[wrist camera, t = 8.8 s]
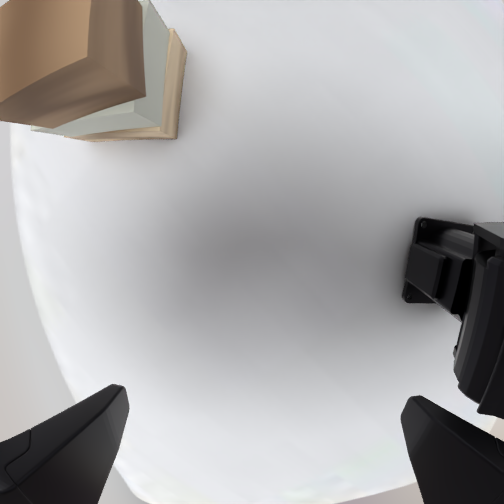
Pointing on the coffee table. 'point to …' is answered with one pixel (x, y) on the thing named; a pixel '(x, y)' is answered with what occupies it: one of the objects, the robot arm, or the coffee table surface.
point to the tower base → (170, 101)
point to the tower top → (138, 110)
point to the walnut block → (68, 59)
